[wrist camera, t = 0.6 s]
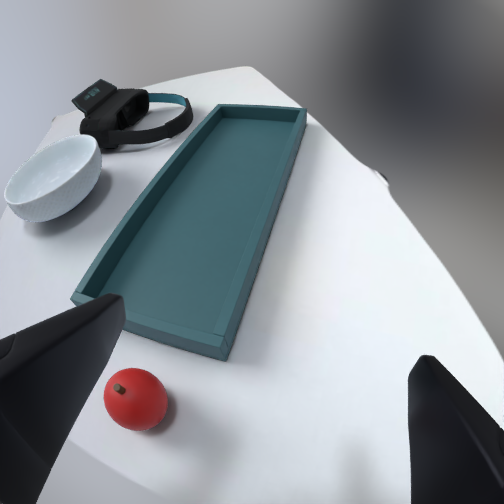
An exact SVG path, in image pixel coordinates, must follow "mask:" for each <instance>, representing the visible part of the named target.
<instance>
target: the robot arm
mask: <svg viewBox="0 0 504 504" xmlns="http://www.w3.org/2000/svg"><path fill="white" fill-rule="evenodd" d="M125 321H126V313H125V305H124V299H123V297H122V296H121V295H119V294H115V293H107V294H105V295H103V296H100V297H98V298H95V299H93V300H91V301H88V302H86V303H84V304H81V305H79V306H77V307H74V308H72V309H70V310H67V311H65V312H63V313H60V314H58V315H56V316H53V317H51V318H49V319H46V320H44V321H42V322H40V323H37V324H35V325H33V326H30V327H28V328H26V329H24V330H21V331H19V332H17V333H16V334H12V335H10V336H8V337H5V338H3V339H1V340H0V504H36V502H37V500H38V497H39V495H40V493H41V491H42V489H43V486H44V484H45V482H46V480H47V478H48V476H49V474H50V471H51V468H52V467H53V465H54V463H55V461H56V459H57V457H58V455H59V452H60V450H61V448H62V446H63V444H64V442H65V440H66V439H67V437H68V435H69V433H70V431H71V429H72V427H73V425H74V423H75V421H76V419H77V417H78V415H79V414H80V412H81V410H82V408H83V406H84V404H85V402H86V401H87V399H88V397H89V395H90V393H91V392H92V390H93V388H94V386H95V384H96V383H97V381H98V379H99V377H100V375H101V374H102V372H103V370H104V368H105V367H106V365H107V363H108V361H109V358H110V356H111V354H112V352H113V349H114V347H115V345H116V342H117V340H118V338H119V336H120V333H121V331H122V329H123V327H124V325H125ZM408 429H409V443H410V462H411V504H504V430H503V429H502V428H500V426H499V425H498V424H497V423H496V421H495V420H494V419H493V418H492V417H491V416H490V415H489V414H488V413H487V411H486V410H485V409H484V408H483V407H482V406H481V405H480V404H479V403H478V402H477V401H476V399H475V398H474V397H473V396H472V395H471V394H470V393H469V392H468V391H467V390H466V389H465V388H464V387H463V386H462V385H461V384H460V382H459V381H458V380H457V379H456V378H455V377H454V376H453V375H452V374H451V373H450V372H449V371H448V370H447V369H446V368H445V367H444V366H443V365H442V364H441V363H440V362H439V361H438V360H437V359H436V358H435V357H434V356H431V355H422V356H421V357H420V358H419V359H418V361H417V362H416V364H415V365H414V367H413V369H412V370H411V372H410V374H409V376H408Z"/></svg>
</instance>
